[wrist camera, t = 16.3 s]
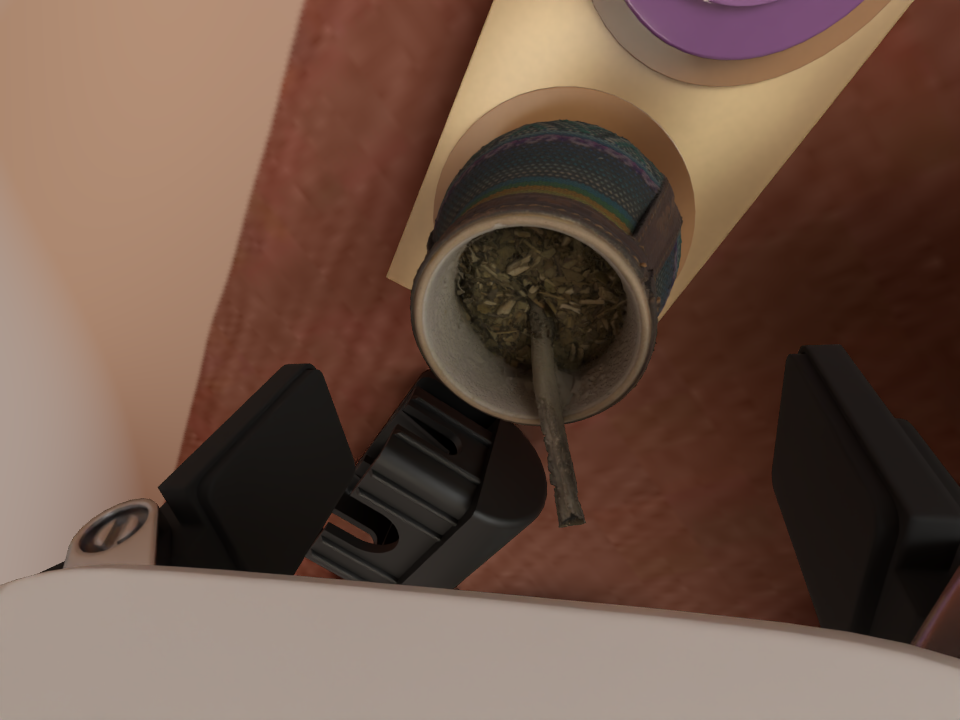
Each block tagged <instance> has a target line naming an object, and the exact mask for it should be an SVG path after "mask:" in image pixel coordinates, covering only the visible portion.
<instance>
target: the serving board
mask: <svg viewBox="0 0 960 720" xmlns="http://www.w3.org/2000/svg"><path fill="white" fill-rule="evenodd" d="M913 1H914V0H864V1H863V2H862V3H861V4H860V5H859V6H857V7H856V8H855V9H854V10H853V11H851V12H850V13H849V14H848V15H847V16H845V17H844V18H843V19H841V20H840V21H838V22H837V23H835V24H834V25H832V26H831V27H829V28H828V29H827V30H825V31H823V32H822V33H820V34H818V35H816V36H814V37H812V38H811V39H809V40H807V41H805V42H803V43H801V44H799V45H796V46H794V47H791V48H789V49H786V50H784V51H782V52H778V53H774V54H771V55H767V56H764V57H760V58H753V59H746V60H729V61H720V60H713V59H705V58H700V57H697V56H693V55H690V54H686V53H684V52H681V51H679V50H677V49H675V48H673V47H671V46H669V45H667V44H665V43H664V42H662V41H661V40H659V39H658V38H656V37H655V36H653V35H652V34H651V33H650V32H649V31H648V30H647V29H646V28H645V27H643V26H642V25H641V24H640V23H639V22H638V20H637V19H636V18H635V17H634V15H633V14H632V13H631V11H630V10H629V9H628V8H627V6H626V4H625V2H624V1H623V0H493V3H492V5H491V8H490V10H489V13H488V16H487V18H486V21H485V23H484V26H483V28H482V31H481V34H480V36H479V39H478V41H477V44H476V47H475V49H474V52H473V54H472V57H471V59H470V62H469V65H468V67H467V70H466V72H465V75H464V77H463V80H462V83H461V85H460V88H459V90H458V93H457V95H456V98H455V101H454V103H453V106H452V108H451V111H450V113H449V116H448V119H447V121H446V124H445V126H444V129H443V132H442V134H441V137H440V139H439V142H438V144H437V147H436V150H435V152H434V155H433V157H432V160H431V162H430V165H429V168H428V170H427V173H426V175H425V178H424V180H423V183H422V186H421V188H420V191H419V193H418V196H417V199H416V201H415V204H414V206H413V209H412V211H411V214H410V217H409V219H408V222H407V224H406V227H405V229H404V232H403V235H402V237H401V240H400V242H399V245H398V247H397V250H396V253H395V255H394V258H393V260H392V263H391V266H390V268H389V271H388V273H387V276H386V277H387V278H388V279H390V280H392V281H394V282H396V283H398V284H400V285H402V286H404V287H406V288H408V289H410V290H411V289H412V285H413V279H414V277H415V275H416V274H417V272H416V271H417V269H419V267H420V264H421V263H422V262H423V261H424V259H425V255H426V254H427V247H426V245H427V242H428V238H429V236H430V232H432V230H433V229H434V226H435V219H436V217H437V214H438V211H439V208H440V206H441V203H442V201H443V199H444V196H445V194H446V191H447V189H448V187H449V186H450V184H451V182H452V181H453V179H454V178H455V176H456V175H457V174H458V172H459V170H460V169H462V168H463V166H464V165H465V164H466V163H467V161H468V160H469V159H470V158H471V157H472V156H473V155H474V154H475V153H476V152H478V150H480V149H481V147H482V146H485V145H486V144H488V143H490V142H491V141H492V140H494V139H495V138H497V137H499V136H501V135H503V134H505V133H507V132H509V131H512V130H515V129H516V128H519V127H521V126H523V125H525V124H531V123H536V122H545V121H546V122H549V121H554V120H559V119H561V120H563V119H564V120H566V119H567V120H569V121H581V122H585V123H588V124H593V125H598V126H599V127H602V128H605V129H607V130H608V131H611V132H613V133H616V134H617V135H618V136H620V137H622V136H623V137H624V138H626V139H627V140H629V141H630V142H631V143H633V145H634V146H635V147H637V148H638V149H639V150H640V152H641V153H642V154H644V156H645V157H647V158H648V159H649V160H650V161H651V162H653V164H654V165H655V167H656V168H657V169H658V170H659V172H662V173H663V174H664V175H665V176H666V177H667V179H668V180H669V183H670V185H671V187H672V189H673V192H674V196H675V197H674V202H675V203H676V205H677V207H678V210H679V212H680V214H681V216H682V220H683V223H682V226H681V239H682V243H681V258H680V262H679V268H678V272H677V277H676V279H675V281H674V285H673V287H672V289H671V292H670V295H669V297H668V299H667V302H666V304H665V306H664V308H663V309H662V311H661V313H660V315H659V316H658V322H659V320H660V319H661V318H662V317H663V315H664V314H665V313H666V312H667V310H668V309H669V308H670V307H671V305H672V304H673V303H674V302H675V300H676V299H677V298H678V297H679V295H680V294H681V293H682V291H683V290H684V289H685V288H686V286H687V285H688V284H689V283H690V281H691V280H692V279H693V278H694V276H695V275H696V274H697V273H698V271H699V270H700V269H701V268H702V266H703V265H704V264H705V263H706V261H707V260H708V259H709V257H710V256H711V255H712V254H713V252H714V251H715V250H716V249H717V247H718V246H719V245H720V244H721V242H722V241H723V240H724V239H725V237H726V236H727V235H728V234H729V232H730V231H731V230H732V229H733V227H734V226H735V225H736V223H737V222H738V221H739V220H740V218H741V217H742V216H743V215H744V213H745V212H746V211H747V210H748V208H749V207H750V206H751V205H752V203H753V202H754V201H755V200H756V198H757V197H758V196H759V195H760V193H761V192H762V191H763V190H764V188H765V187H766V186H767V184H768V183H769V182H770V181H771V179H772V178H773V177H774V176H775V174H776V173H777V172H778V171H779V169H780V168H781V167H782V166H783V164H784V163H785V162H786V161H787V159H788V158H789V157H790V156H791V154H792V153H793V152H794V150H795V149H796V148H797V147H798V145H799V144H800V143H801V142H802V140H803V139H804V138H805V137H806V135H807V134H808V133H809V132H810V130H811V129H812V128H813V127H814V125H815V124H816V123H817V122H818V120H819V119H820V118H821V117H822V115H823V114H824V113H825V111H826V110H827V109H828V108H829V106H830V105H831V104H832V103H833V101H834V100H835V99H836V98H837V96H838V95H839V94H840V93H841V91H842V90H843V89H844V88H845V86H846V85H847V84H848V83H849V81H850V80H851V79H852V77H853V76H854V75H855V74H856V72H857V71H858V70H859V69H860V67H861V66H862V65H863V64H864V62H865V61H866V60H867V59H868V57H869V56H870V55H871V54H872V52H873V51H874V50H875V49H876V47H877V46H878V45H879V43H880V42H881V41H882V40H883V38H884V37H885V36H886V35H887V33H888V32H889V31H890V30H891V28H892V27H893V26H894V25H895V23H896V22H897V21H898V20H899V18H900V17H901V16H902V15H903V13H904V12H905V11H906V10H907V8H908V7H909V6H910V4H911V3H912V2H913Z"/></svg>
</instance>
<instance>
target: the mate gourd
mask: <svg viewBox="0 0 960 720" xmlns="http://www.w3.org/2000/svg"><path fill="white" fill-rule="evenodd" d="M674 197H675V196H674V192H673V189H672V187H671V185H670V183H669V180H668V179H667V177H666V176H665V175H664V174H663V173H662V172H659V170H658V169H657V168H656V167H655V165H654V164H653V162H651V161H650V160H649V159H648V158H647V157H645V156H644V154H642V153H641V152H640V150H639V149H638V148H637V147H635V146H634V145H633V143H631V142H630V141H629V140H627V139H626V138H624V137H623V136H622V137H620V136H618V135H617V134H616V133H613V132H611V131H608V130H607V129H605V128H602V127H599V126H598V125H593V124H588V123H585V122H581V121H569V120H567V119H566V120H564V119H563V120H561V119H559V120H554V121H549V122H546V121H545V122H536V123H531V124H525V125H523V126H521V127H519V128H516V129H515V130H512V131H509V132H507V133H505V134H503V135H501V136H499V137H497V138H495V139H494V140H492V141H491V142H490V143H488V144H486V145H485V146H482V147H481V149H480V150H478V152H476V153H475V154H474V155H473V156H472V157H471V158H470V159H469V160H468V161H467V163H466V164H465V165H464V166H463V168H462V169H460V170H459V172H458V174H457V175H456V176H455V178H454V179H453V181H452V182H451V184H450V186H449V187H448V189H447V191H446V194H445V196H444V199H443V201H442V203H441V206H440V208H439V211H438V214H437V217H436V219H435V226H434V229H433V230H432V232H430V236H429V238H428V242H427V245H426V247H427V254H426V255H425V259H424V261H423V262H422V263H421V264H420V267H419V269H417V271H416V272H417V274H416V275H415V277H414V279H413V285H412V289H411V297H410V300H411V305H410V311H411V324H412V330H413V334H414V337H415V340H416V343H417V345H418V348H419V350H420V352H421V354H422V356H423V358H424V360H425V361H426V363H427V364H428V366H429V367H430V369H431V371H432V372H433V373H434V374H435V376H436V377H437V378H438V379H439V380H440V381H441V382H442V383H443V384H444V385H445V386H446V387H447V388H448V389H449V390H450V391H451V392H452V393H454V394H455V395H456V396H458V397H459V398H460V399H462V400H463V401H464V402H466V403H467V404H469V405H470V406H472V407H474V408H476V409H478V410H479V411H481V412H483V413H486V414H487V415H490V416H492V417H495V418H498V419H501V420H504V421H507V422H512V423H516V424H521V425H529V426H541V431H542V433H543V435H545V437H544V442H545V447H546V451H547V452H548V453H549V454H548V457H547V459H548V471H550V473H551V474H550V483H551V485H554V486H555V488H554V491H555V495H554V496H555V503H556V507H557V515H558V521H559V528H561V527H567V525H568V526H573V525H581V524H584V523H586V522H585V519H584V514H583V511H582V509H581V504H580V503H579V501H578V497H577V493H578V491H577V482H576V479H575V473H574V469H573V463H572V460H571V455H570V451H569V447H568V442H567V436H566V433H565V427H564V424H568V423H573V422H577V421H581V420H584V419H587V418H589V417H592V416H594V415H597V414H599V413H601V412H603V411H605V410H607V409H608V408H610V407H612V406H613V405H615V404H616V403H618V402H620V400H622V399H623V398H624V397H625V396H626V395H627V394H628V393H629V392H630V391H631V390H632V389H633V388H634V387H635V386H636V385H637V383H638V382H639V380H640V379H641V377H642V376H643V373H644V372H645V370H646V368H647V365H648V363H649V361H650V359H651V356H652V352H653V351H654V347H655V343H656V342H655V340H656V336H657V323H658V316H659V315H660V313H661V311H662V309H663V308H664V306H665V304H666V302H667V299H668V297H669V295H670V292H671V289H672V287H673V285H674V281H675V279H676V277H677V272H678V268H679V262H680V258H681V243H682V239H681V226H682V223H683V220H682V216H681V214H680V212H679V210H678V207H677V205H676V203H675V202H674ZM569 523H570V524H569Z"/></svg>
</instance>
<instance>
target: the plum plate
mask: <svg viewBox="0 0 960 720" xmlns="http://www.w3.org/2000/svg"><path fill="white" fill-rule="evenodd" d="M623 1H624V2H625V4H626V6H627V8H628V9H629V10H630V11H631V13H632V14H633V15H634V17H635V18H636V19H637V20H638V22H639V23H640V24H641V25H642V26H643V27H645V28H646V29H647V30H648V31H649V32H650V33H651V34H652V35H653V36H655V37H656V38H658V39H659V40H661V41H662V42H664V43H665V44H667V45H669V46H671V47H673V48H675V49H677V50H679V51H681V52H684V53H686V54H690V55H693V56H697V57H700V58H705V59H713V60H720V61H729V60H746V59H753V58H760V57H764V56H767V55H771V54H774V53H778V52H782V51H784V50H786V49H789V48H791V47H794V46H796V45H799V44H801V43H803V42H805V41H807V40H809V39H811V38H812V37H814V36H816V35H818V34H820V33H822V32H823V31H825V30H827V29H828V28H829V27H831V26H832V25H834V24H835V23H837V22H838V21H840V20H841V19H843V18H844V17H845V16H847V15H848V14H849V13H850V12H851V11H853V10H854V9H855V8H856V7H857V6H859V5H860V4H861V3H862V2H863V1H864V0H623Z"/></svg>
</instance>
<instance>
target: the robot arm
mask: <svg viewBox="0 0 960 720" xmlns="http://www.w3.org/2000/svg"><path fill="white" fill-rule="evenodd" d="M354 473H355V462H354V459H353V456H352V454H351V451H350V448H349V445H348V442H347V440H346V437H345V434H344V431H343V429H342V426H341V423H340V420H339V418H338V415H337V412H336V409H335V406H334V404H333V401H332V398H331V395H330V393H329V390H328V387H327V384H326V382H325V379H324V376H323V374H322V372H321V371H320V370H316V368H315V367H314V366H313V365H312V364H287V365H284V366H283V367H281V368H280V369H279V370H278V371H277V372H276V373H275V374H274V375H273V376H272V377H271V378H270V379H269V380H268V381H267V382H266V383H265V384H264V385H263V386H262V387H261V388H260V389H259V390H258V391H257V392H256V393H254V394H253V395H252V396H251V397H250V398H249V399H248V400H247V401H246V402H245V403H244V404H243V405H242V406H241V407H240V408H239V409H238V410H237V411H236V412H235V413H234V414H233V415H232V416H231V417H230V418H229V419H228V420H227V421H226V422H225V423H224V424H222V425H221V426H220V427H219V428H218V429H217V430H216V431H215V432H214V433H213V434H212V435H211V436H210V437H209V438H208V439H207V440H206V441H205V442H204V443H203V444H202V445H201V446H200V447H199V448H198V449H197V450H196V451H195V452H194V453H193V454H192V455H190V456H189V457H188V458H187V459H186V460H185V461H184V462H183V463H182V464H181V465H180V466H179V467H178V468H177V469H176V470H175V471H174V472H173V473H172V474H171V475H170V476H169V477H168V478H167V479H166V480H165V481H164V482H163V483H162V484H161V485H160V486H159V487H158V488H159V490H160V492H161V493H162V495H163V497H164V498H165V500H166V502H165V503H164V504H163V505H162V506H161V508H159V506H158V505H157V503H155V502H154V501H153V500H151V499H144V498H141V499H134V500H129V501H126V502H123V503H120V504H117V505H115V506H113V507H111V508H109V509H107V510H105V511H103V512H102V513H100V514H99V515H97V516H96V517H94V518H92V519H91V520H90V521H89V522H88V523H87V524H85V525H84V526H83V527H82V528H81V529H80V530H79V531H78V533H77V534H76V535H75V536H74V537H73V539H72V541H71V543H70V545H69V548H68V551H67V555H66V559H65V561H64V562H62V563H60V564H58V565H56V566H53V567H51V568H49V569H47V570H45V571H43V572H40V573H38V574H35V575H31V576H28V577H24V578H20V579H16V580H14V581H11V582H8V583H5V584H2V585H0V720H960V487H959V486H958V484H957V483H956V482H955V480H954V479H953V478H952V476H951V475H950V474H949V472H948V471H947V470H946V469H945V467H944V466H943V465H942V463H941V462H940V461H939V459H938V458H937V457H936V455H935V454H934V453H933V451H932V450H931V449H930V448H929V446H928V445H927V444H926V442H925V441H924V440H923V438H922V437H921V436H920V434H919V433H918V432H917V431H916V429H915V428H914V427H913V426H912V425H911V424H910V423H909V422H908V421H907V420H904V419H901V418H894V416H893V415H892V414H891V412H890V411H889V410H888V408H887V407H886V406H885V404H884V403H883V401H882V400H881V399H880V397H879V396H878V395H877V393H876V392H875V390H874V389H873V388H872V386H871V385H870V384H869V382H868V381H867V380H866V378H865V377H864V375H863V374H862V373H861V371H860V370H859V369H858V367H857V366H856V364H855V363H854V362H853V360H852V359H851V358H850V356H849V355H848V354H847V352H846V351H845V349H844V348H843V347H842V346H841V345H840V344H831V345H804V346H801V347H800V349H799V351H798V354H789V355H788V356H787V359H786V364H785V372H784V380H783V388H782V396H781V403H780V411H779V419H778V427H777V435H776V442H775V450H774V458H773V466H772V483H773V489H774V492H775V495H776V498H777V501H778V504H779V507H780V510H781V512H782V515H783V518H784V521H785V524H786V527H787V530H788V533H789V536H790V539H791V541H792V544H793V547H794V550H795V553H796V556H797V559H798V562H799V565H800V568H801V571H802V573H803V576H804V579H805V582H806V585H807V588H808V591H809V594H810V597H811V600H812V602H813V605H814V608H815V611H816V614H817V617H818V620H819V623H820V626H821V628H818V627H811V626H804V625H798V624H791V623H784V622H775V621H766V620H757V619H748V618H739V617H730V616H721V615H712V614H703V613H694V612H685V611H676V610H667V609H656V608H646V607H635V606H625V605H614V604H604V603H593V602H583V601H572V600H562V599H551V598H541V597H530V596H519V595H509V594H498V593H487V592H476V591H465V590H454V589H443V588H432V587H420V586H409V585H398V584H386V583H375V582H364V581H352V580H341V579H329V578H317V577H305V576H293V575H294V574H295V572H296V570H297V569H298V567H299V566H300V564H301V562H302V561H303V559H304V557H305V556H306V554H307V552H308V551H309V549H310V547H311V546H312V544H313V543H314V541H315V539H316V538H317V536H318V534H319V533H320V531H321V529H322V528H323V526H324V524H325V523H326V521H327V520H328V518H329V516H330V515H331V513H332V511H333V510H334V508H335V506H336V505H337V503H338V501H339V500H340V498H341V497H342V495H343V493H344V492H345V490H346V488H347V487H348V485H349V483H350V482H351V480H352V478H353V476H354Z"/></svg>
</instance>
